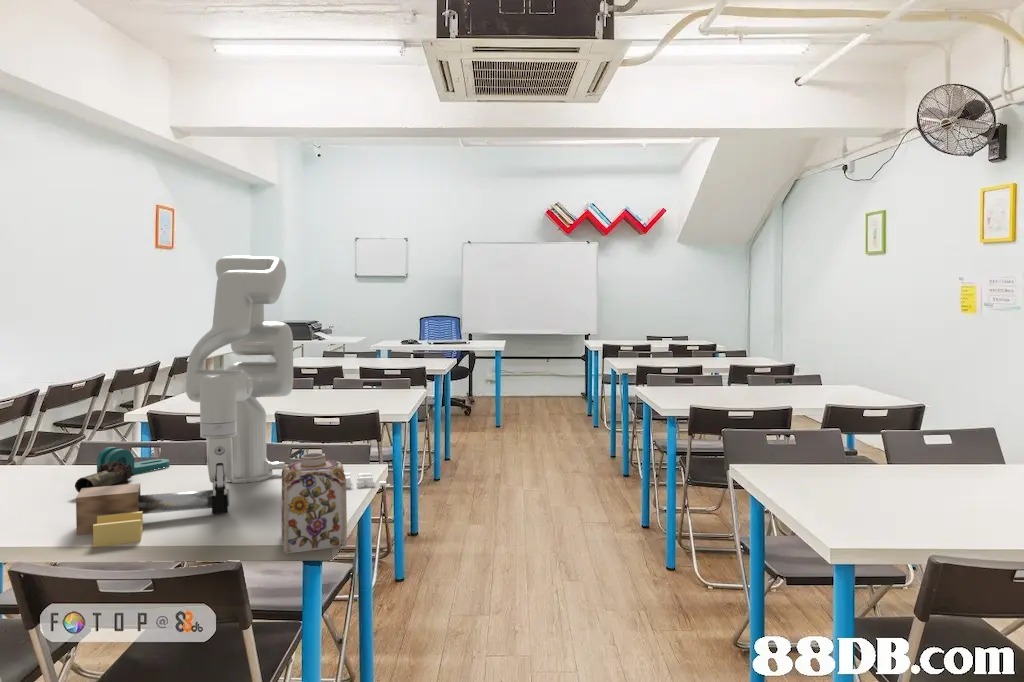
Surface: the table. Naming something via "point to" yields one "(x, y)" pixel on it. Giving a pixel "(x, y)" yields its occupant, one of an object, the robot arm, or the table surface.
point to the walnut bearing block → (104, 504)
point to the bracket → (129, 460)
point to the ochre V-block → (118, 529)
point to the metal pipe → (106, 476)
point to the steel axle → (176, 501)
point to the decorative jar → (313, 504)
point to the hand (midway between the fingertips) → (219, 509)
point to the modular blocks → (363, 480)
